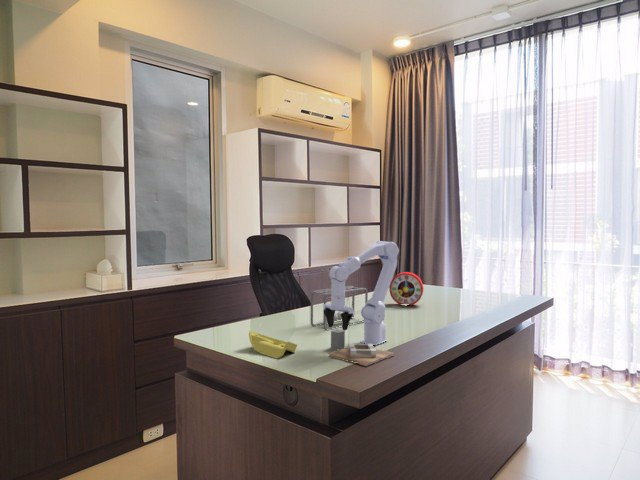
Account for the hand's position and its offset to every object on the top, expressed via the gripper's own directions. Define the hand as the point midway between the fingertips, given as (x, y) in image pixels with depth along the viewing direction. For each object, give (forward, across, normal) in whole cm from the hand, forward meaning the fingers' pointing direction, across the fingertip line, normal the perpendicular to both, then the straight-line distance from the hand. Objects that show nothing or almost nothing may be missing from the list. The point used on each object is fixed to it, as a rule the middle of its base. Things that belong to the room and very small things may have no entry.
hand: (337, 328), depth 187 cm
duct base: (+8, +14, -2) cm, 16 cm away
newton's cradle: (+8, -26, +32) cm, 42 cm away
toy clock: (+8, -28, +98) cm, 102 cm away
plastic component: (+9, -16, -22) cm, 28 cm away
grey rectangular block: (+8, 0, 0) cm, 8 cm away
